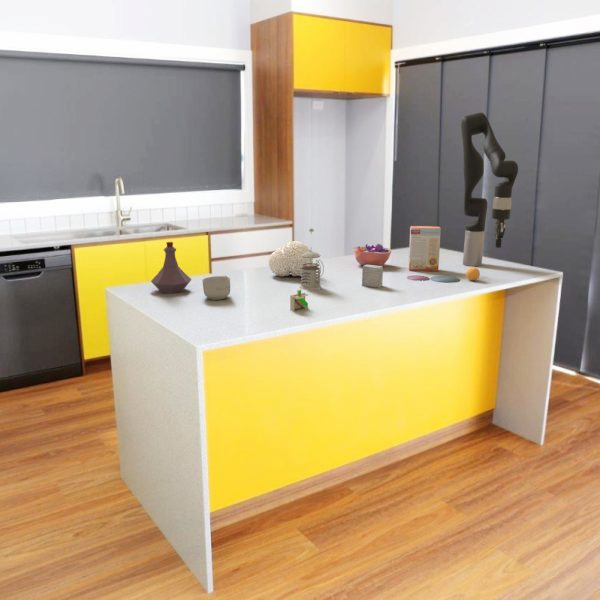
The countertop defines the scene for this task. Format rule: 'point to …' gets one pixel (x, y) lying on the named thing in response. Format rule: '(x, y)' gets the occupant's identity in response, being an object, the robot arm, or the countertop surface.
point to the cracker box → (424, 248)
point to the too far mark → (418, 277)
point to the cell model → (372, 255)
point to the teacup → (216, 287)
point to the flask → (170, 273)
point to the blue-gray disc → (445, 279)
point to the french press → (311, 272)
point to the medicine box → (372, 276)
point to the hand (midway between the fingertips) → (498, 247)
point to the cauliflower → (289, 259)
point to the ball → (472, 273)
